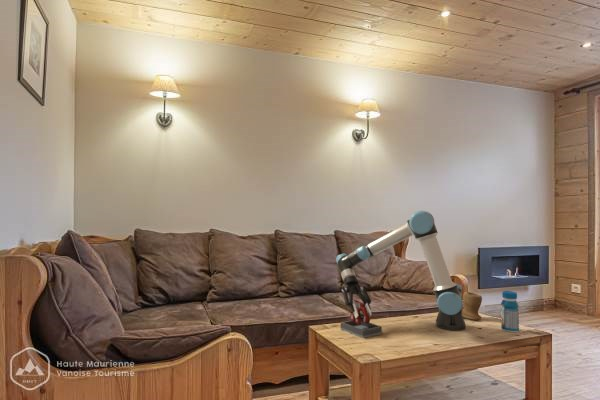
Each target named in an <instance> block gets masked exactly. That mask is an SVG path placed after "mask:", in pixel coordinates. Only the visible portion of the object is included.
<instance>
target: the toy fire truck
mask: <svg viewBox="0 0 600 400" xmlns="http://www.w3.org/2000/svg"><path fill="white" fill-rule="evenodd" d="M353 304H355V307H356V310H357V313H358V315H359V316H358V317H357V318H355V316H354V313H353V312H352V313H351V314H350V316H349V319H350V320H351V321H352V322H354V321H355V322H356V324H361V322H364V323H369V322H370V323H371V316H370V317H369V316H368V313H367V309H366V307H365V304H364V303H363V302H361V301H359V300H356V299H355V300H354V299H353Z"/></svg>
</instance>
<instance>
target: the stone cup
mask: <svg viewBox="0 0 600 400" xmlns="http://www.w3.org/2000/svg"><path fill="white" fill-rule="evenodd" d="M482 301H483V297H482V295H481V294H479V293H474V292H470V291H464V292H463V293H462V302H463V306H462V307H463V308H462V315H463V318H464V319H468V320H475V321H478V320H481V319H483V317H482V316H481V315H480V314H479V309H480V307H481V305H482Z"/></svg>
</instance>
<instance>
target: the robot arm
mask: <svg viewBox="0 0 600 400" xmlns="http://www.w3.org/2000/svg"><path fill="white" fill-rule="evenodd" d="M437 235H438V229H437V227H436V224H435V218H434V216H433V215H432V214H431V213H430V212H428V211H426V210H418V211H415V212H414V213H412V214H411V216H410V218H409V219H408V220H406V223H404V224H402V225H401V226H399V227H397V228H395V229H393V230H392V231H390V232H388V233H386V234H384V235H382V236H380V237H379V238H377V239H376V240H374V241H371V242H370V243H368V244H366V245H362V246H359V247H358V248H356V249H355V250H353V251H351V252H350V253H349V254H347V253H341V254H338V255H337V256H336V258H335V259H336V265H337V269H338V271H339V273H340V276H341V278H342V281H343V285H344V287H342V288H341V293H342V295H343V298H344V299H343V300H344V303H345V304H344V305H345V306H346V307H348V308H350V310H351V312H352V313H354V316H355V318H357V317H358V316H359V315H358V313H357V310H356V307H355V304H353V301H354V295H356V296H358V298H359V299H360V301H362V303H364V304H365V307H366V309H367V313H368V316H369V317H370V318H371V316H372V315H373V314H372V311H371V305H370V304H371V303H372V298H371V297H370V295H369V294H368V292H367V290H366V286H365V285H364V286H361V285H360V284H359V280H358V279H357V275H356V273H355V271H354V268H355V267H356V266H358V265H359V264H361V263H363V262H365V261H368V260H370V259H371V258H372V257H374V256H376V255H378V254H380V253H381V252H384V251H385V250H388V249H389V248H391V247H393V246H395V245H397V244H400V243H401V242H402V241H403V242H404V241H405V240H406V239H408V238H410V237H412V236H413V237H414V238H415V240H417V241H419V244H420V247H421V249H422V252H423V255H424V258H425V260H426V264H427V266H428V269H429V273H430V275H431V278H432V280H433V283H434V287H433V292H434V293H433V294H434V295H435V299H436V305H437V308H438V313H437V316H436V319H435V327H438V328H440V329H443V330H447V331H464V330H466V327H467V326H466V321H465V318H464V317H463V315H462V310H463V307H464V306H463V288H462V285H461V284H457V283H455V282H454V281H452V278H451V276H450V275H451V274H450V273H449V270H448V267H447V264H446V260H445V258H444V256H443V252H442V249H441V247H440V244H439V241H438V239H437V238H438V237H437Z"/></svg>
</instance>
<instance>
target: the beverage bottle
mask: <svg viewBox="0 0 600 400" xmlns="http://www.w3.org/2000/svg"><path fill="white" fill-rule="evenodd" d="M502 298H503V299H502V300H501V303H500V305H501V307H500V313H501V324H500V325H501V326H500V327H501V330H502V331H504V330H505V331H504V332H507V331H508V333H518V332H520V326H519V325H520V321H519V315H520V310H519V307H520V305H519V303H518V301H517V299H518V294H517V291H511V290H503V291H502Z"/></svg>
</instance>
